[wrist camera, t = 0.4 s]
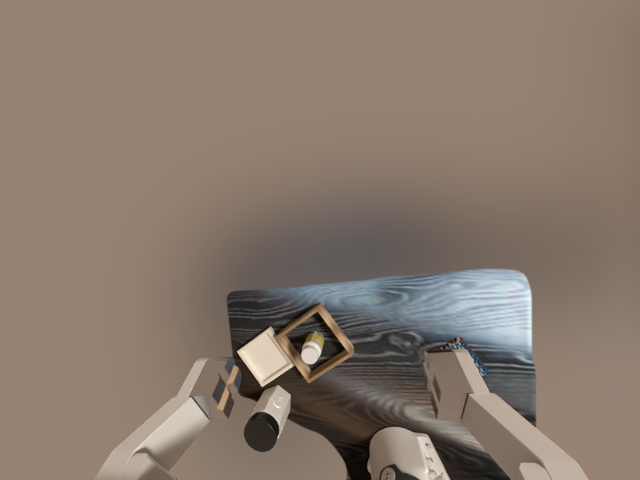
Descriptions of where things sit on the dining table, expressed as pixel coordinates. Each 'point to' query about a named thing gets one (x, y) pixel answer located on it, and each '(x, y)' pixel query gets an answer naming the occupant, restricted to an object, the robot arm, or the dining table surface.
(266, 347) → the tray
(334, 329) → the frame
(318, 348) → the supplement bottle
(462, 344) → the woven mat
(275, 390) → the jar
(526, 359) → the dining table surface
